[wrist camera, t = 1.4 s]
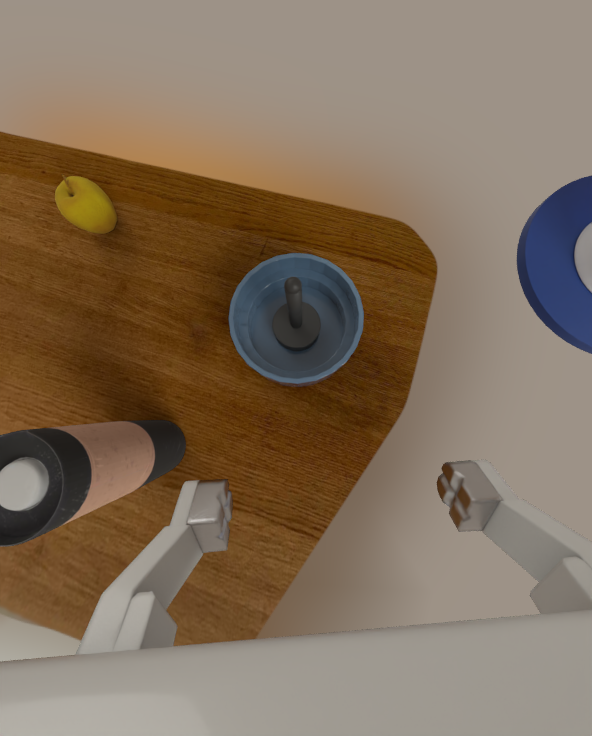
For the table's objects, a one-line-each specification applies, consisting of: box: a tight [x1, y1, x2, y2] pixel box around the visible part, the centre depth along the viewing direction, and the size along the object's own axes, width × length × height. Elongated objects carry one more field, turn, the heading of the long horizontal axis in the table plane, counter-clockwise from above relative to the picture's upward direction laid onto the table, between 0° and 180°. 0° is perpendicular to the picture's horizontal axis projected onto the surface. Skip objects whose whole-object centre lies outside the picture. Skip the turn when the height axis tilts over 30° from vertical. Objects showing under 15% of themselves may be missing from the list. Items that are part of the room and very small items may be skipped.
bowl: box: [229, 253, 364, 387], centre depth 37 cm, size 16×16×6 cm
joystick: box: [272, 277, 321, 351], centre depth 32 cm, size 6×6×15 cm
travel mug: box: [0, 420, 186, 546], centre depth 29 cm, size 8×8×20 cm
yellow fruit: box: [55, 174, 117, 234], centre depth 39 cm, size 6×6×8 cm
